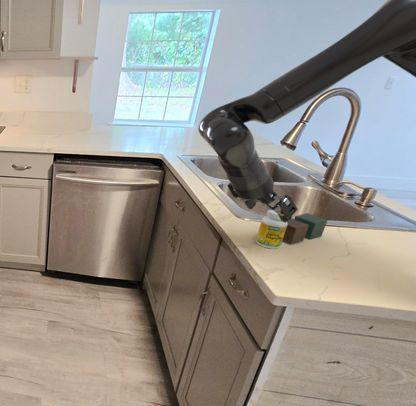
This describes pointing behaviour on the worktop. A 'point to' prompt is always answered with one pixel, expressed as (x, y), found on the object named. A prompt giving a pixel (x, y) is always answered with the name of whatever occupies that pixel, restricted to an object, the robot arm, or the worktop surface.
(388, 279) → the worktop surface
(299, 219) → the green block
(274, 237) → the supplement bottle
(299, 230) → the walnut block
